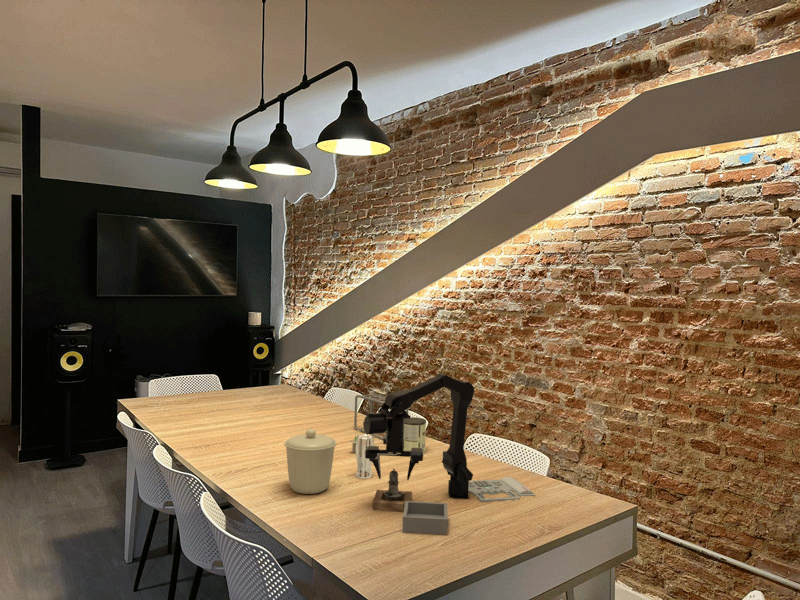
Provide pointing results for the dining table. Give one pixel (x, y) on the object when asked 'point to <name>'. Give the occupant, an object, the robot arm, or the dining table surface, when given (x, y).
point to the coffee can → (414, 433)
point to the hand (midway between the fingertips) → (393, 479)
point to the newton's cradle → (370, 408)
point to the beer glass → (363, 456)
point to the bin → (425, 517)
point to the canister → (309, 461)
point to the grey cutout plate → (498, 489)
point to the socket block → (390, 505)
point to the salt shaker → (393, 487)
